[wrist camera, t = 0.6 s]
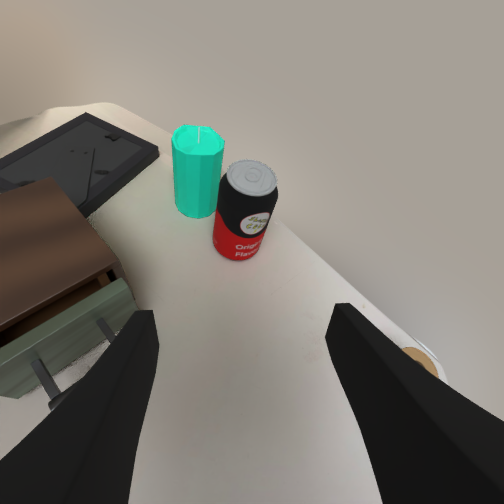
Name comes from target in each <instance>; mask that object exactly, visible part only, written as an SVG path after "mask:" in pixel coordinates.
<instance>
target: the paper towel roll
mask: <svg viewBox="0 0 504 504" xmlns="http://www.w3.org/2000/svg"><path fill="white" fill-rule="evenodd" d="M402 350H403V351H404V352H405V353H406V354H408V355H409V356H410V357H411V358H413V359H414V360H415V361H416V362H418V363H419V364H420V365H421V366H423V367H424V368H425V369H426V370H428V371H429V372H430V373H432V374H433V375H434V376H436V377H437V378H438V373H437V370H436V367H435V365H434V364H433V362H432V361H431V359H430V358H429V357H428V356H427V355H426V354H425V353H423V352H422V351H420V350H419V349H416V348H412V347H406V348H403V349H402Z"/></svg>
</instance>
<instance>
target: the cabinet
mask: <svg viewBox="0 0 504 504" xmlns="http://www.w3.org/2000/svg"><path fill="white" fill-rule="evenodd" d="M104 273H106V274H107V276H108V278H109V280H110V281H111V283H112V282H114V281H115V280H117V279H119V278H120V277H121V278H122V279H123V280H124V281H125V283H126V284H127V285H128V286H129V283H128V281H127V279H126V276H125V274H124V271H123V269H122V266H121V264H120V261H119V259H118V258H117V257H116V256H115V254H114V253H113V252H112V251H111V249H110V248H109V247H108V246H107V244H106V243H105V242H104V241H103V240H102V238H101V237H100V236H99V235H98V233H97V232H96V231H95V230H94V228H93V227H92V226H91V225H90V223H89V222H88V221H87V220H86V219H85V217H84V216H83V215H82V214H81V212H80V211H79V210H78V209H77V207H76V206H75V205H74V204H73V202H72V201H71V200H70V199H69V198H68V196H67V195H66V194H65V193H64V191H63V190H62V189H61V188H60V186H59V185H58V184H57V183H56V181H55V180H54V179H53V178H52V177H48V178H45V179H42V180H40V181H37V182H34V183H31V184H28V185H25V186H22V187H19V188H16V189H13V190H10V191H8V192H5V193H2V194H0V332H1V331H3V330H5V329H6V328H8V327H10V326H12V325H14V324H15V323H17V322H19V321H21V320H22V319H24V318H26V317H28V316H29V315H31V314H33V313H35V312H37V311H38V310H40V309H42V308H44V307H45V306H47V305H49V304H51V303H53V302H54V301H56V300H58V299H60V298H61V297H63V296H65V295H67V294H69V293H70V292H72V291H74V290H76V289H77V288H79V287H81V286H83V285H85V284H86V283H88V282H90V281H92V280H93V279H95V278H97V277H99V276H101V275H102V274H104ZM129 289H130V291H131V288H130V286H129ZM131 293H132V291H131ZM132 296H133V293H132ZM133 298H134V296H133ZM134 300H135V298H134Z"/></svg>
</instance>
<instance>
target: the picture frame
mask: <svg viewBox="0 0 504 504" xmlns="http://www.w3.org/2000/svg"><path fill="white" fill-rule="evenodd" d="M158 157H159V151H158V146H156V145H154V144H152V143H150V142H147V141H145V140H143V139H141V138H139V137H137V136H135V135H133V134H131V133H129V132H126V131H124V130H122V129H120V128H118V127H116V126H114V125H112V124H110V123H108V122H105V121H103V120H101V119H99V118H97V117H95V116H93V115H91V114H89V113H86V112H85V113H84V114H82V115H80V116H78V117H76V118H74V119H73V120H71V121H69V122H67V123H65V124H63V125H61V126H60V127H58V128H56V129H54V130H52V131H50V132H49V133H47V134H45V135H43V136H41V137H39V138H38V139H36V140H34V141H32V142H30V143H28V144H27V145H25V146H23V147H21V148H19V149H17V150H16V151H14V152H12V153H10V154H8V155H6V156H5V157H3V158H1V159H0V193H1V194H2V193H5V192H8V191H10V190H13V189H16V188H19V187H22V186H25V185H28V184H31V183H34V182H37V181H40V180H42V179H45V178H48V177H52V178H53V179H54V180H55V181H56V183H57V184H58V185H59V186H60V188H61V189H62V190H63V191H64V193H65V194H66V195H67V196H68V198H69V199H70V200H71V201H72V202H73V204H74V205H75V206H76V207H77V209H78V210H79V211H80V212H81V214H82V215H83V216H84V217H85V218H86V217H88V216H89V215H90V214H91V213H92V212H94V211H95V210H96V209H97V208H98V207H100V206H101V205H102V204H103V203H104V202H105V201H107V200H108V199H109V198H110V197H111V196H113V195H114V194H115V193H116V192H117V191H119V190H120V189H121V188H122V187H123V186H125V185H126V184H127V183H128V182H129V181H130V180H132V179H133V178H134V177H135V176H136V175H138V174H139V173H140V172H141V171H142V170H144V169H145V168H146V167H147V166H148V165H150V164H151V163H152V162H153V161H154V160H155V159H157V158H158Z"/></svg>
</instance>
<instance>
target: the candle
mask: <svg viewBox="0 0 504 504" xmlns="http://www.w3.org/2000/svg"><path fill="white" fill-rule="evenodd" d="M171 140H172V156H173V173H174V189H175V203H176V205H177V208H178V210H179V211H180V212H181V213H183V214H184V215H186V216H187V217H193V218H203V217H207V216H209V215H211V214H212V213H213V212H214V211H215V210H216V206H217V198H218V190H219V183H220V175H221V167H222V159H223V151H224V143H225V141H224V140H223V139H222V138H221V137H220V136H219V135H218V134H217V133H216V132H215V131H214V130H213V129H212V128H210V127H203V126H192V125H183V126H181V127H179V128H178V129H176V130H175V131H174V134H173V136H172V138H171Z"/></svg>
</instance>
